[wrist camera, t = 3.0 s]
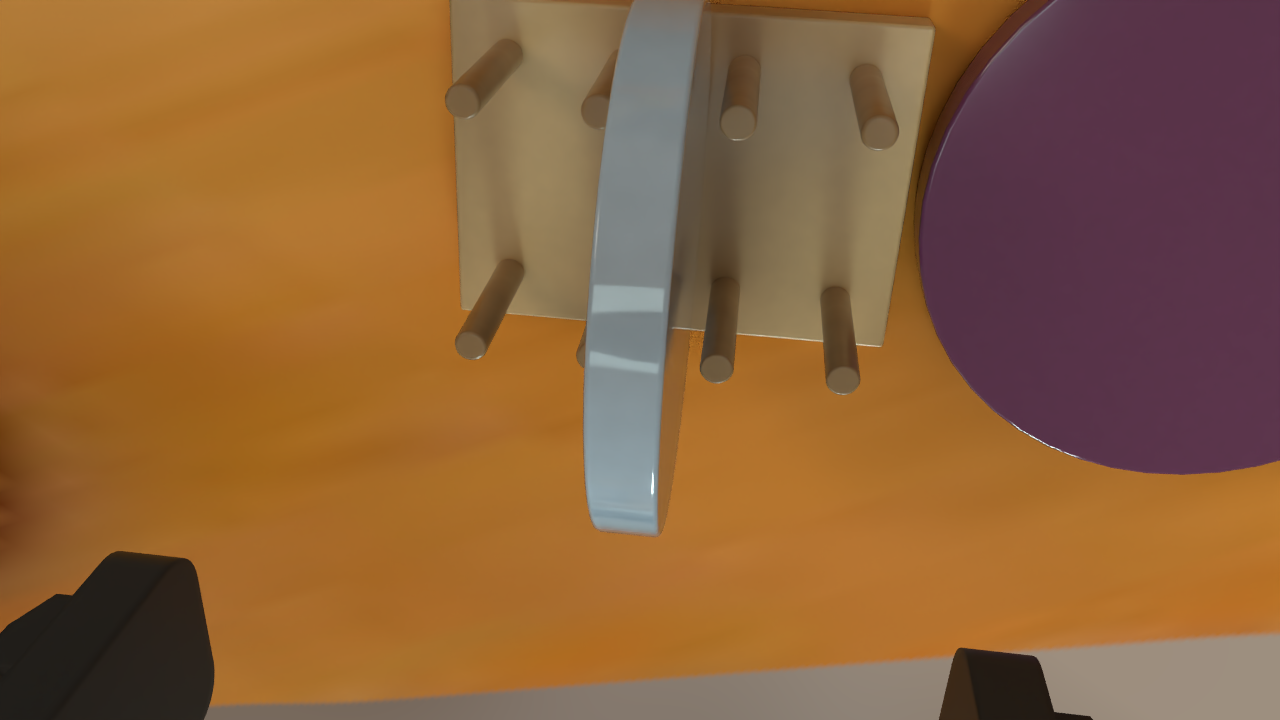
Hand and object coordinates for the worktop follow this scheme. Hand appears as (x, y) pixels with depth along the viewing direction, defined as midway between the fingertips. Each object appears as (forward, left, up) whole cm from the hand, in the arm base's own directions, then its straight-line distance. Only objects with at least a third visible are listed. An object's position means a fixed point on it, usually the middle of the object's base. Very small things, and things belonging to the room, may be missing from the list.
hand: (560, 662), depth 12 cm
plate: (0, 0, -11) cm, 11 cm away
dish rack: (0, 0, -17) cm, 17 cm away
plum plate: (+12, 0, -17) cm, 20 cm away
